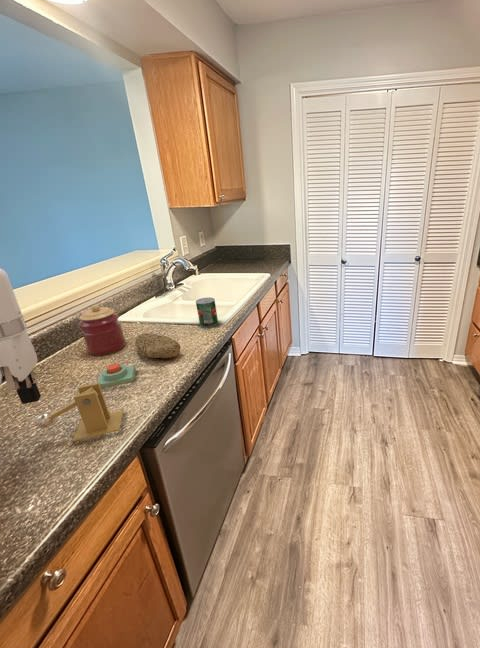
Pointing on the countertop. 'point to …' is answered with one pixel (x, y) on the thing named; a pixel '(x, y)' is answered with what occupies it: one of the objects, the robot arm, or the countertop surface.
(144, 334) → the speckled river stone
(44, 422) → the tap lever
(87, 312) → the kitchen canister
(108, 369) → the button
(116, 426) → the bracket
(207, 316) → the canned tomato
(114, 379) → the switch block
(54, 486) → the countertop surface
